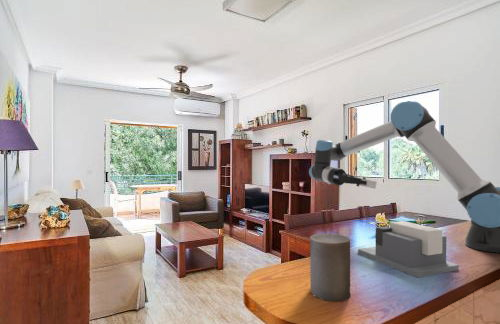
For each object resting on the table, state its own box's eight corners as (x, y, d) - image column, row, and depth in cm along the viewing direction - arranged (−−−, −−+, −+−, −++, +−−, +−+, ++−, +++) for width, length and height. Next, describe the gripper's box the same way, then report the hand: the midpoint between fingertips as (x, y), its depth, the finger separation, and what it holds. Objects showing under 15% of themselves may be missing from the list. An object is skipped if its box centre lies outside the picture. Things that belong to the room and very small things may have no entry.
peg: (389, 243, 102) (389, 222, 102) (403, 241, 104) (403, 221, 104) (427, 255, 89) (428, 231, 89) (442, 253, 91) (442, 229, 91)
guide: (358, 253, 108) (358, 223, 108) (394, 248, 114) (394, 220, 114) (417, 277, 86) (417, 240, 86) (458, 269, 92) (458, 235, 92)
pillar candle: (357, 292, 76) (356, 232, 76) (339, 306, 69) (339, 239, 69) (321, 282, 82) (321, 226, 82) (302, 293, 75) (302, 232, 75)
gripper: (344, 186, 139) (385, 196, 118) (321, 182, 134) (359, 192, 112) (347, 169, 139) (389, 177, 117) (324, 165, 134) (363, 172, 112)
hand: (374, 184), depth 115 cm, fingers closed
